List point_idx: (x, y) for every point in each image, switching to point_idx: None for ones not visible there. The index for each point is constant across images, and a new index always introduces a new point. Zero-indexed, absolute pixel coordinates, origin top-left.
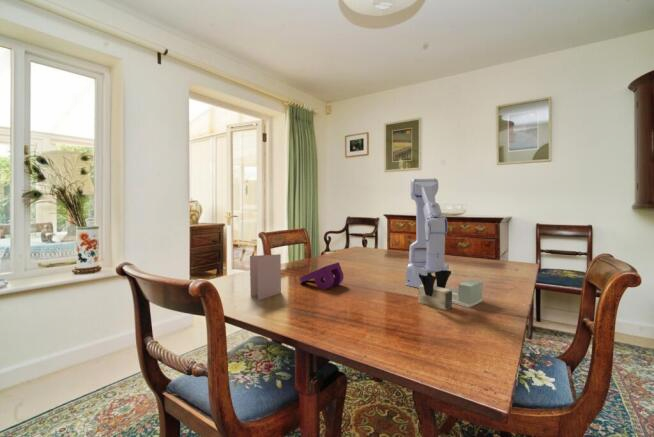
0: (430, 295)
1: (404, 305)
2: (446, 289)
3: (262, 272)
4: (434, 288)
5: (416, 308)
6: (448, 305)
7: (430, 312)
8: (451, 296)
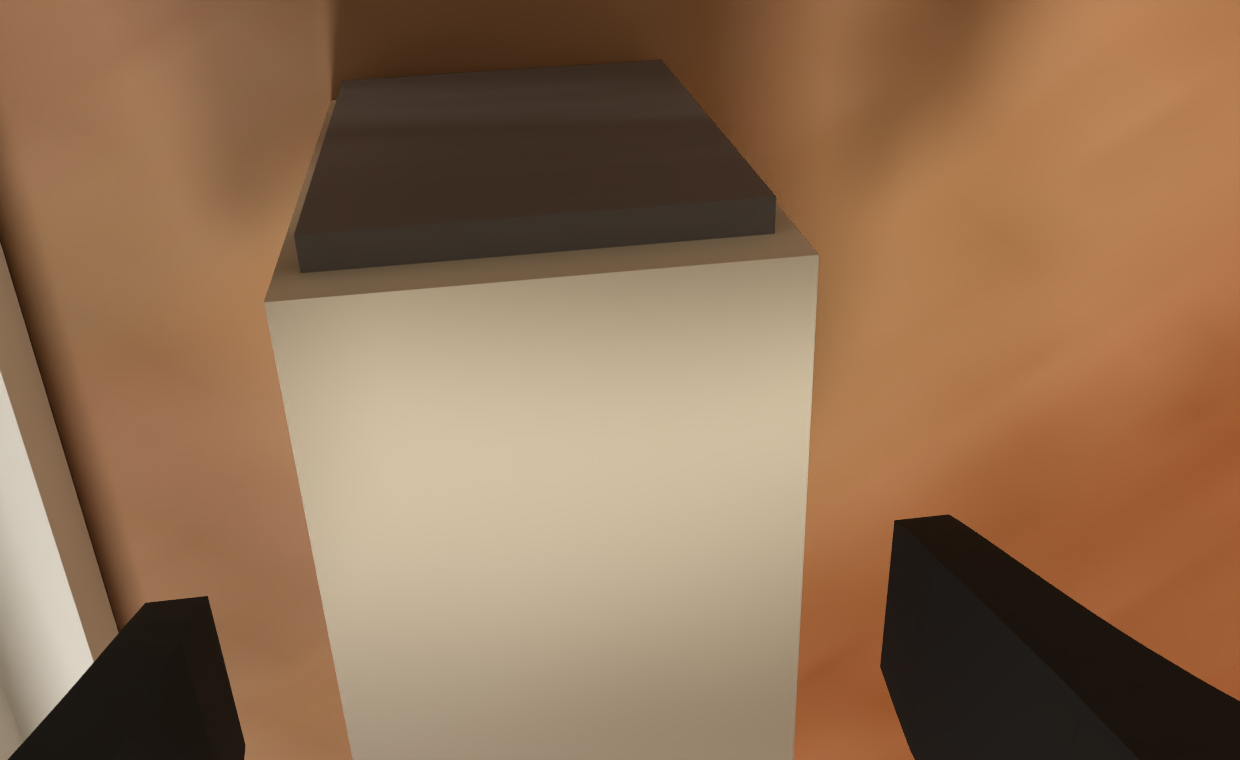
0: (972, 535)
1: None
2: (421, 445)
3: None
4: (665, 733)
5: (1041, 509)
6: (541, 85)
7: (1084, 194)
8: (355, 167)
